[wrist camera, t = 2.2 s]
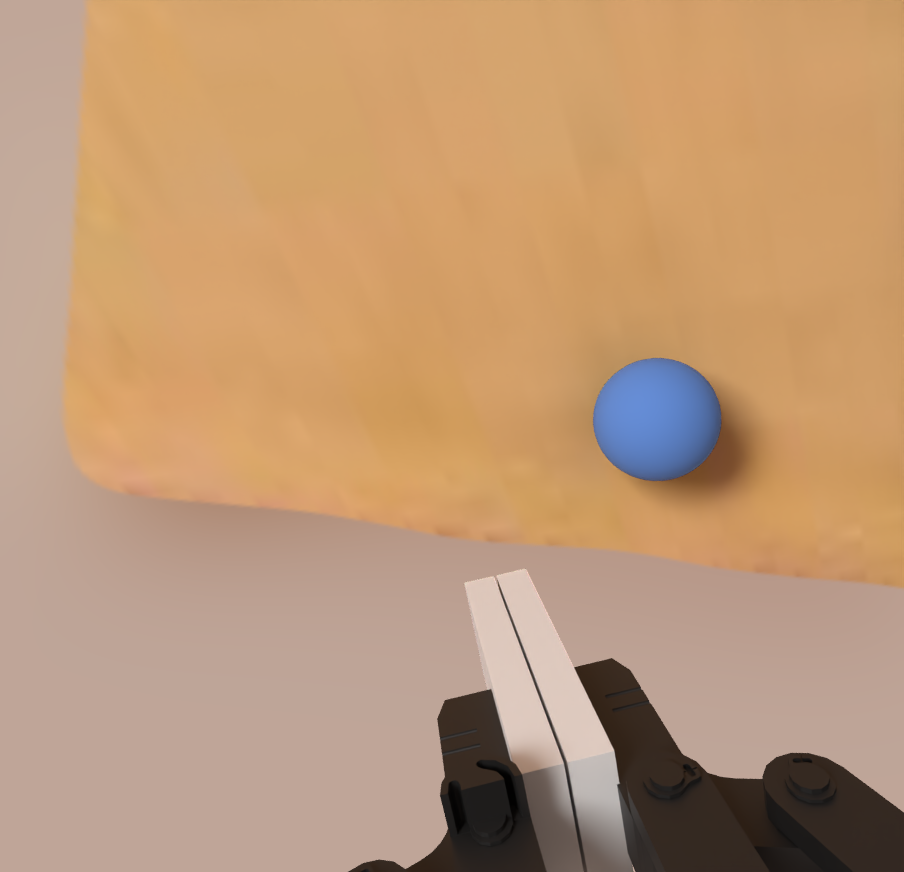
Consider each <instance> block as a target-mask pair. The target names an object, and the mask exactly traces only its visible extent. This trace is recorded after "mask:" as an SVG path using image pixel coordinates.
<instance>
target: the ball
mask: <svg viewBox="0 0 904 872" xmlns="http://www.w3.org/2000/svg"><path fill="white" fill-rule="evenodd" d="M593 425H594V432H595V436H596V439H597V442H598V444H599V446H600V448H601V450H602V452H603V453H604V454H605V456H606V457H607V458H608V460H609V461H610V462H611V463H612V464H613V465H615V466H616V467H617V468H618V469H620V470H621V471H623V472H625V473H627V474H628V475H631V476H633V477H636V478H639V479H644V480H650V481H665V480H671V479H674V478H678V477H680V476H683V475H685V474H687V473H689V472H691V471H693V470H694V469H696V468H697V467H698V466H700V465H701V464H702V463H703V462H704V461H705V460H706V458H707V457H708V456H709V455H710V453H711V452H712V450H713V449H714V447H715V445H716V443H717V440H718V437H719V434H720V429H721V410H720V404H719V401H718V398H717V396H716V394H715V392H714V390H713V388H712V387H711V385H710V384H709V382H708V381H707V380H706V379H705V378H704V377H703V376H702V375H701V374H700V373H699V372H697V371H696V370H695V369H693V368H691V367H690V366H688V365H686V364H684V363H681V362H679V361H675V360H671V359H664V358H652V359H645V360H640V361H637V362H634V363H632V364H629V365H627V366H626V367H624V368H622V369H621V370H619V371H618V372H617V373H615V374H614V375H613V376H612V377H611V378H610V379H609V380H608V381H607V383H606V384H605V385H604V387H603V388H602V390H601V391H600V394H599V396H598V398H597V401H596V404H595V408H594V416H593Z"/></svg>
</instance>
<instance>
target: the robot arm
mask: <svg viewBox="0 0 904 872" xmlns="http://www.w3.org/2000/svg"><path fill="white" fill-rule="evenodd" d="M497 581H498V586H497V583H496V580H495V578H494V576H491V577H487V578H483V579H478V580H474V581H470V582H465V583H464V584H465V589H466V594H467V599H468V604H469V608H470V613H471V617H472V622H473V627H474V631H475V637H476V641H477V646H478V651H479V655H480V660H481V665H482V670H483V674H484V679H485V682H486V686H487V690H486V691H481V692H477V693H474V694H469V695H465V696H461V697H457V698H453V699H448V700H445V701H444V704H443V706H442V709H441V711H440V714H439V716H438V719H437V720H438V727H439V735H440V740H441V749H442V755H443V763H444V771H445V778H444V780H443V781H442V784H441V793H440V797H441V801H442V805H443V809H444V813H445V817H446V821H447V825H448V830H447V833H446V835H445V837H444V838H443V840H442V842H441V843H440V844H439V845H438V846H437V848H436V849H435V850H434V851H433V852H432V853H431V854H429V855H428V856H426V857H425V858H424V859H422V860H421V861H419V862H417V863H415V864H414V865H412V866H410V867H409V868H407V869H404V868H403V867H401V866H400V865H398V864H396V863H395V862H392V861H385V860H375V861H371V862H366V863H363V864H361V865H359V866H357V867H356V868H354V869H352V870H351V871H349V872H633V867H634V869H635V871H636V872H904V812H902V811H901V810H900V809H898V808H897V807H896V806H894V805H893V804H892V803H890V802H889V801H887V800H886V799H885V798H883V797H882V796H881V795H879V794H878V793H877V792H875V791H874V790H873V789H871V788H870V787H869V786H867V785H866V784H865V783H863V782H862V781H861V780H859V779H858V778H857V777H855V776H854V775H853V774H851V773H850V772H849V771H847V770H846V769H844V768H843V767H842V766H840V765H838V764H836V763H834V762H833V761H831V760H829V759H827V758H824V757H821V756H817V755H813V754H809V753H790V754H786V755H783V756H779V757H776V758H775V759H774V760H772V761H771V762H770V763H769V764H768V765H766V768H765V771H764V774H763V779H734V778H725V777H719V776H716V775H713V774H709V773H707V772H706V771H705V770H704V769H703V768H702V767H701V766H700V765H699V764H698V763H697V762H696V761H694V760H692V759H690V758H688V757H686V756H684V755H683V754H682V753H681V751H680V750H679V749H678V747H677V745H676V743H675V742H674V740H673V739H672V737H671V735H670V734H669V732H668V730H667V729H666V727H665V726H664V724H663V722H662V721H661V719H660V718H659V716H658V714H657V713H656V711H655V709H654V708H653V706H652V705H651V704H650V703H649V700H648V698H647V697H646V695H645V693H644V692H643V690H641V687H640V685H639V684H638V682H637V680H636V679H635V677H634V676H633V674H632V673H631V671H630V670H629V669H627V668H626V667H624V666H623V665H621V664H620V663H618V662H617V661H615V660H614V659H612V658H611V659H607V660H604V661H599V662H595V663H591V664H586V665H582V666H578V667H573V665H572V663H571V661H570V658H569V657H568V654H567V653H566V650H565V648H564V646H563V644H562V642H561V640H560V638H559V636H558V634H557V632H556V630H555V628H554V625H553V623H552V621H551V619H550V617H549V615H548V613H547V611H546V609H545V607H544V605H543V603H542V601H541V599H540V597H539V595H538V593H537V590H536V588H535V587H534V584H533V582H532V580H531V578H530V576H529V574H528V572H527V570H526V569H521V570H517V571H513V572H508V573H505V574H500V575H497ZM498 587H499V588H498ZM632 864H633V866H632Z"/></svg>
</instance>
